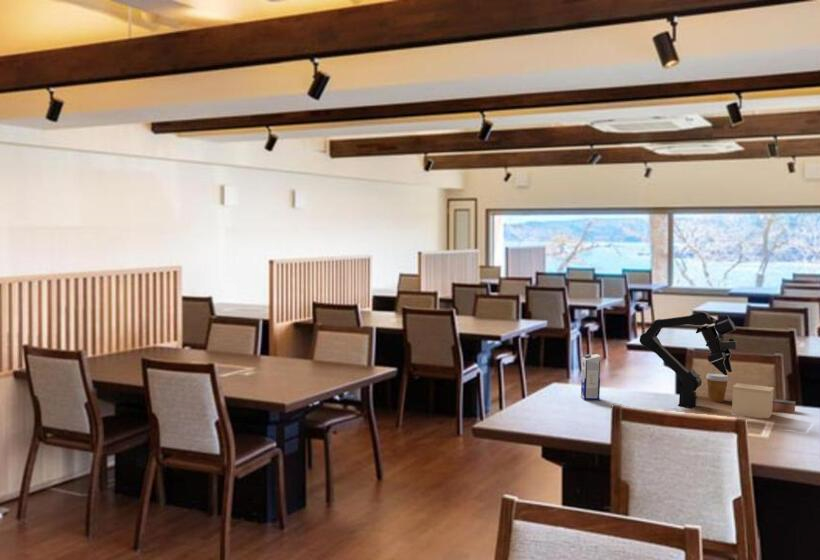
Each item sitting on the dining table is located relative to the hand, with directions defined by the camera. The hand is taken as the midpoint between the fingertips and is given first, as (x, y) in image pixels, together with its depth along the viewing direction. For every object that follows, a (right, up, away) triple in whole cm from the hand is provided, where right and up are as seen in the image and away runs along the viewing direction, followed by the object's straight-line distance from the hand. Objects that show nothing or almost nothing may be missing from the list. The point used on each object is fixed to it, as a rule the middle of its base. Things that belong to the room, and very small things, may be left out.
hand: (728, 373), depth 327 cm
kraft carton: (+8, -16, -4) cm, 19 cm away
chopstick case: (+19, -16, +6) cm, 26 cm away
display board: (+12, -17, -7) cm, 22 cm away
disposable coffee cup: (+3, -15, +21) cm, 26 cm away
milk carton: (-54, -14, +20) cm, 59 cm away
